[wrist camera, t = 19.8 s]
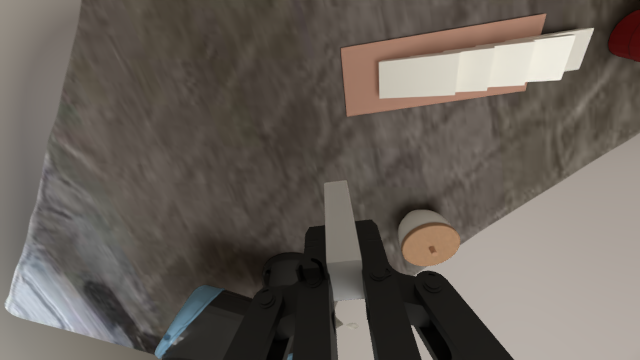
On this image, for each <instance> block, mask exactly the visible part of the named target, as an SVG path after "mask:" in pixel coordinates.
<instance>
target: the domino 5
mask: <svg viewBox="0 0 640 360" xmlns="http://www.w3.org/2000/svg"><path fill="white" fill-rule="evenodd" d="M593 30H594V28H582V29H574V30H568V31H562V32H556V33H550V34H544V35H537V36H531V37H525V38H519V39H513V40H507V41H505V42H509V41H517V40H526V39H534V38H542V37H550V36H559V35H567V34H573V35H576V37H575V40H574V43H573V46H572V49H571V52H570V55H569V57H568V60H567V63H566V66H565V69H564V71H570V70H577V69H579V68H580V65H581V63H582V60H583V57H584V54H585V52H586V49H587V46H588V44H589V41H590V38H591V36H592V33H593Z"/></svg>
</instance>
